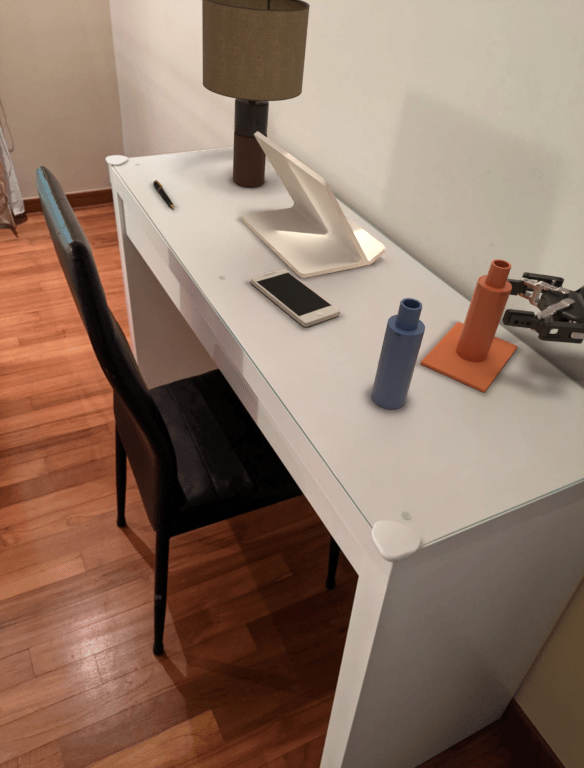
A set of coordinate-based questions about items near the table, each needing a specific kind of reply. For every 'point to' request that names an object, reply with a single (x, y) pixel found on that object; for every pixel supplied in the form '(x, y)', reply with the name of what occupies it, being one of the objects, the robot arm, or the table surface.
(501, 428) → the table surface
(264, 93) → the lamp
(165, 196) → the fountain pen
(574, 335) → the robot arm
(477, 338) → the terracotta bottle
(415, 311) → the blue bottle
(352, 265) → the tablet stand
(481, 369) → the terracotta mat
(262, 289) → the smartphone
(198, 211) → the table surface
